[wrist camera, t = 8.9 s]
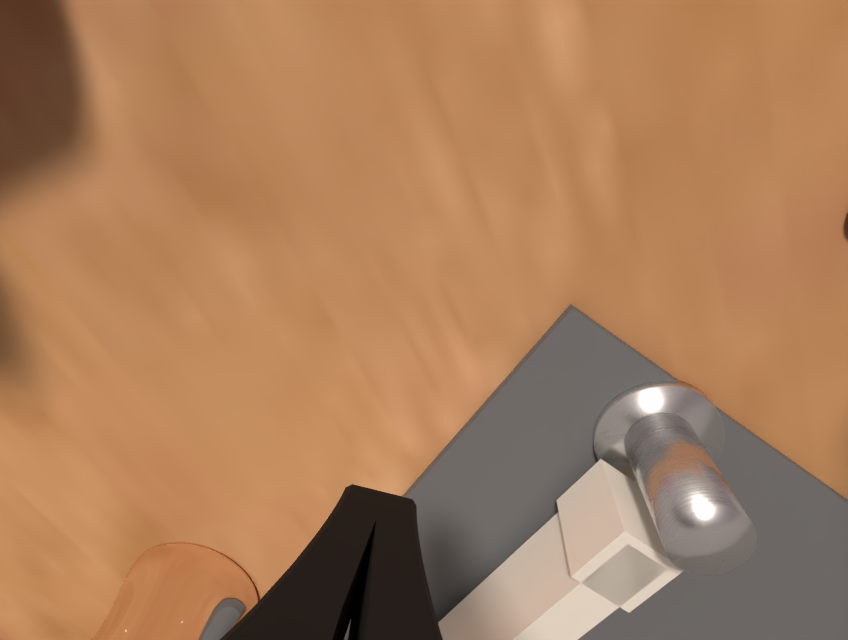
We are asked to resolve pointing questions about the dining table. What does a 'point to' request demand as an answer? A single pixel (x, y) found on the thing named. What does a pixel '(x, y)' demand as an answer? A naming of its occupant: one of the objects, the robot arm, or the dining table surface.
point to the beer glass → (179, 596)
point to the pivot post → (678, 472)
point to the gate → (571, 568)
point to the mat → (574, 455)
